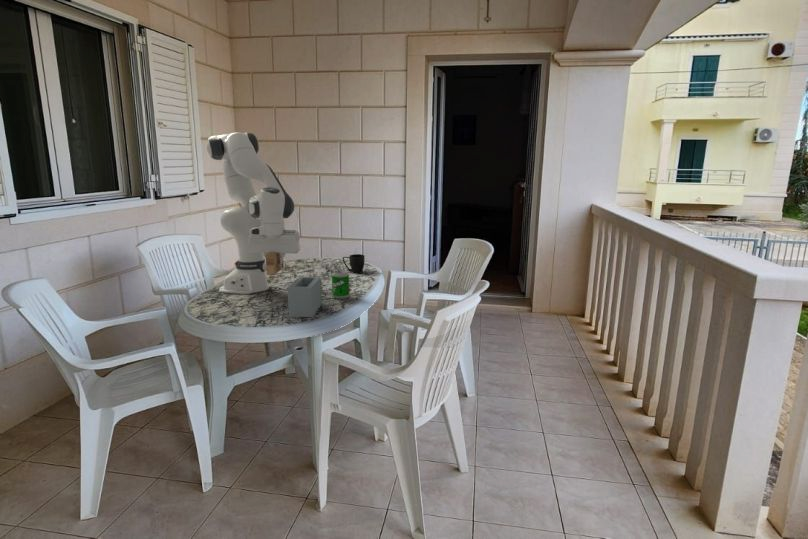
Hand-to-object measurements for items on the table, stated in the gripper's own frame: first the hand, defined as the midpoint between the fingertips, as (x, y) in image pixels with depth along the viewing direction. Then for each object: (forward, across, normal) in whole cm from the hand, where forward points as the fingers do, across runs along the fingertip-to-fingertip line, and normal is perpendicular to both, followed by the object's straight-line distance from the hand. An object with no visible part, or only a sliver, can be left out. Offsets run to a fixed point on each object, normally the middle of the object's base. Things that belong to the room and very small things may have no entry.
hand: (274, 263), depth 181 cm
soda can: (+19, -23, -18) cm, 35 cm away
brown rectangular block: (+3, 0, 0) cm, 3 cm away
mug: (+20, -22, -66) cm, 72 cm away
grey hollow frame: (+19, -12, +1) cm, 23 cm away
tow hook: (+20, -21, -30) cm, 41 cm away
